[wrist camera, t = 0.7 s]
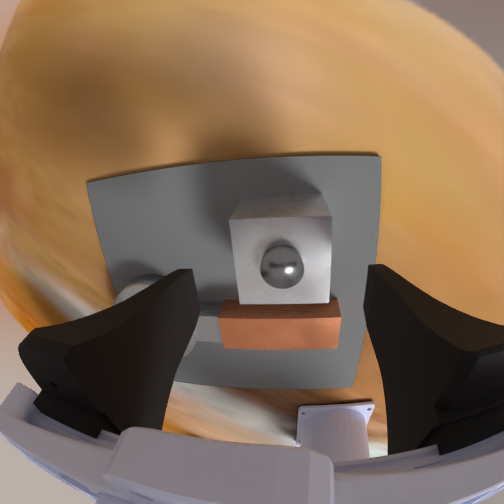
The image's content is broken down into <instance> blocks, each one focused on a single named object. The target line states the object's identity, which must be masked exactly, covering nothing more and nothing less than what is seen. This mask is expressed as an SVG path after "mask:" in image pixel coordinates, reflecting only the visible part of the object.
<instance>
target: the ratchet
mask: <svg viewBox="0 0 504 504" xmlns="http://www.w3.org/2000/svg"><path fill="white" fill-rule="evenodd" d="M163 277H164V276H161V275H155V274H145V275H140V276H138V277H136V278H134V279H133V280H132V281H130V282H129V284H128V285H127V286H126V287H125V288H124V289H123V290H122V291H121V293H120V294H119V295H118V296H117V297H116V299H115V301H114V304H113V306H114V305H116V304H118V303H120V302H122V301H124V300H126V299H128V298H129V297H131V296H133V295H135V294H136V293H138V292H140V291H142V290H143V289H145V288H147V287H148V286H150V285H151V284H153V283H155V282H156V281H158V280H160V279H161V278H163ZM199 302H200V306H201V310H200V314H199V318H198V322H197V325H196V328H195V330H194V333H193V335H192V337H191V340H190V342H189V344H188V346H187V349H186V351H185V353H184V355H183V357H185V356H186V355H188V354H189V353H190V352H191V351H192V349H193V348H194V345H195V343H196V341H204V342H222V343H223V346H224V348H227V349H255V350H310V349H337V348H338V340H339V333H340V325H341V313H340V308H339V304H338V299H337V298H329V303H310V304H240V301H239V300H233V299H225V300H224V302H213V301H199Z"/></svg>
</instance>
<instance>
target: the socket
mask: <svg viewBox="0 0 504 504" xmlns="http://www.w3.org/2000/svg"><path fill="white" fill-rule="evenodd" d="M229 225H230V233H231V241H232V248H233V256H234V264H235V271H236V279H237V286H238V294H239V301H240V304H310V303H329V294H330V276H331V250H332V215H331V212H330V210H329V208H328V206H327V203H326V201H325V199H324V197H323V195H322V193H294V194H269V195H250V196H244V197H243V199H242V200H241V202H240V203H239V205H238V206H237V208H236V209H235V211H234V213H233V214H232V216H231V217H230V219H229Z"/></svg>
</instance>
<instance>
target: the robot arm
mask: <svg viewBox="0 0 504 504" xmlns="http://www.w3.org/2000/svg"><path fill="white" fill-rule="evenodd" d="M363 309H364V315H365V320H366V326H367V329H368V332H369V335H370V339H371V342H372V345H373V348H374V351H375V354H376V358H377V361H378V364H379V368H380V372H381V376H382V381H383V388H384V395H385V404H386V414H387V431H388V455H387V456H381V457H374V458H370V454H369V445H368V437H367V429H366V425H367V423H368V421H369V418H370V416H371V414H372V411H373V409H374V407H375V403H374V402H372V401H370V402H361V403H349V404H335V405H313V406H300V407H299V409H298V425H297V438H296V445H298V446H300V447H293V446H284V445H268V444H250V443H238V442H228V441H219V440H212V439H205V438H198V437H192V436H186V435H181V434H176V433H171V432H166V431H162V426H163V421H164V416H165V411H166V407H167V403H168V399H169V395H170V391H171V388H172V384H173V381H174V378H175V374H176V372H177V369H178V367H179V364H180V362H181V360H182V358H183V355H184V353H185V351H186V349H187V346H188V344H189V342H190V340H191V337H192V335H193V333H194V330H195V328H196V325H197V322H198V318H199V314H200V310H201V306H200V302H199V298H198V293H197V289H196V284H195V279H194V274H193V270H192V269H177V270H175V271H173V272H171V273H169V274H168V275H166V276H164V277H163V278H161V279H160V280H158V281H156V282H155V283H153V284H151V285H150V286H148V287H147V288H145V289H143V290H142V291H140V292H138V293H136V294H135V295H133V296H131V297H129V298H128V299H126V300H124V301H122V302H120V303H118V304H116V305H114V306H112V307H110V308H107V309H105V310H103V311H100V312H97V313H95V314H92V315H89V316H87V317H84V318H81V319H77V320H74V321H70V322H66V323H62V324H58V325H52V326H47V327H41V328H35V329H34V330H32V331H31V332H30V333H29V334H28V335H27V337H26V338H25V339H24V340H23V341H22V342H21V343H20V344H19V347H18V351H19V355H20V358H21V360H22V362H23V363H24V365H25V367H26V368H27V370H28V371H29V373H30V374H31V376H32V377H33V378H34V380H35V381H36V382H37V384H38V385H39V386H40V388H41V389H42V391H41V392H40V394H39V395H38V394H37V393H36V392H35V391H33V390H32V389H30V388H28V387H26V386H24V385H23V384H21V383H17V384H16V385H15V386H14V388H13V389H12V390H11V392H10V393H9V395H8V396H7V397H6V399H5V400H4V402H3V403H2V404H1V406H0V434H1V435H2V436H3V437H4V438H5V439H6V440H8V441H9V442H10V443H11V444H12V445H13V446H14V447H15V448H17V449H18V450H19V451H20V452H21V453H22V454H24V455H25V456H26V457H27V458H28V459H30V460H31V461H33V462H34V463H35V464H37V465H38V466H40V467H41V468H43V469H44V470H46V471H47V472H48V473H50V474H52V475H53V476H55V477H56V478H58V479H59V480H61V481H63V482H65V483H66V484H68V485H69V486H71V487H73V488H74V489H76V490H78V491H80V492H81V493H83V494H85V495H87V496H89V497H91V498H93V499H95V500H97V501H96V504H477V503H479V502H481V501H483V500H485V499H487V498H489V497H491V496H492V495H494V494H496V493H498V492H500V491H501V490H503V489H504V326H503V325H498V324H495V323H491V322H488V321H485V320H481V319H478V318H476V317H473V316H470V315H468V314H465V313H463V312H460V311H458V310H456V309H454V308H452V307H450V306H448V305H446V304H444V303H442V302H440V301H438V300H436V299H435V298H433V297H431V296H430V295H428V294H427V293H425V292H423V291H422V290H420V289H419V288H417V287H416V286H414V285H413V284H411V283H410V282H409V281H407V280H406V279H404V278H403V277H401V276H400V275H399V274H397V273H396V272H394V271H393V270H391V269H390V268H388V267H387V266H385V265H383V264H370V265H368V272H367V281H366V289H365V296H364V303H363Z"/></svg>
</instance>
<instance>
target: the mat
mask: <svg viewBox="0 0 504 504" xmlns="http://www.w3.org/2000/svg"><path fill="white" fill-rule="evenodd" d="M86 186H87V191H88V196H89V200H90V205H91V209H92V213H93V217H94V221H95V225H96V229H97V233H98V237H99V240H100V244H101V247H102V251H103V254H104V258H105V261H106V264H107V267H108V270H109V274H110V277H111V280H112V283H113V285H114V288H115V291H116V294H117V296H118V295H119V294H120V293H121V291H122V290H123V289H124V288H125V287H126V286H127V285H128V284H129V282H130V281H132V280H133V279H134V278H136V277H138V276H140V275H145V274H155V275H161V276H166V275H168V274H169V273H171V272H173V271H175V270H177V269H192V270H193V274H194V279H195V284H196V289H197V293H198V298H199V301H213V302H224V300H225V299H233V300H239V294H238V286H237V279H236V271H235V264H234V256H233V248H232V241H231V233H230V225H229V219H230V217H231V216H232V214H233V213H234V211H235V209H236V208H237V206H238V205H239V203H240V202H241V200H242V199H243V197H244V196H250V195H269V194H294V193H322V195H323V197H324V199H325V201H326V203H327V206H328V208H329V210H330V212H331V215H332V250H331V276H330V294H329V298H337V299H338V304H339V308H340V313H341V325H340V333H339V340H338V348H337V349H310V350H255V349H227V348H224V346H223V343H222V342H204V341H196V343H195V345H194V348H193V349H192V351H191V352H190V353H189V354H188V355H186V356H185V357H183V358H182V360H181V362H180V364H179V367H178V369H177V372H176V374H175V378H174V381H176V382H184V383H191V384H200V385H210V386H221V387H233V388H250V389H329V388H346V387H352V386H353V383H354V379H355V375H356V371H357V366H358V362H359V358H360V353H361V349H362V344H363V339H364V334H365V329H366V320H365V315H364V309H363V303H364V296H365V289H366V281H367V272H368V265H370V264H375V263H376V254H377V244H378V232H379V218H380V199H381V156H361V155H313V156H284V157H266V158H251V159H239V160H228V161H218V162H208V163H200V164H192V165H184V166H177V167H170V168H163V169H156V170H150V171H144V172H139V173H133V174H127V175H122V176H117V177H112V178H107V179H102V180H98V181H93V182H89V183H86Z"/></svg>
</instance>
